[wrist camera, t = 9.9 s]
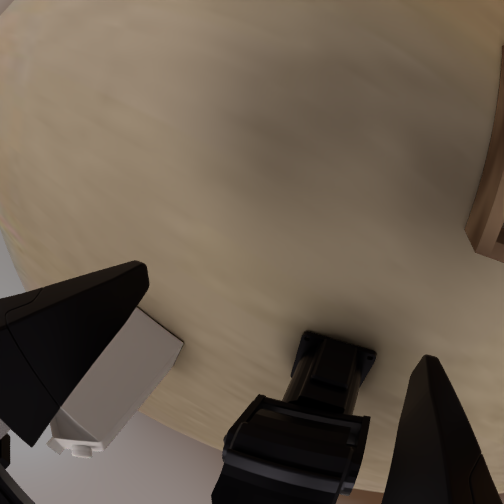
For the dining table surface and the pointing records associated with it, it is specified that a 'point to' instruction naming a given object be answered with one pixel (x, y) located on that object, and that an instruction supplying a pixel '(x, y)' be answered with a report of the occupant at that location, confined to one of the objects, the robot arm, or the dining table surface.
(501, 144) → the walled box
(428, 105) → the dining table surface
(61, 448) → the milk carton
